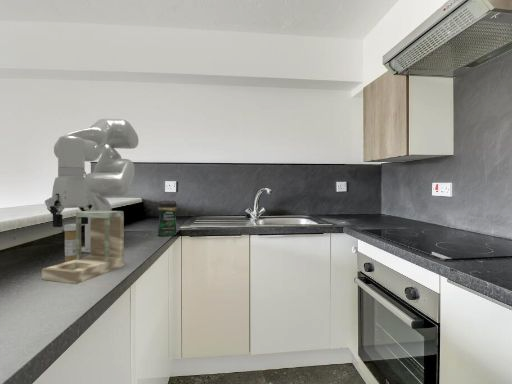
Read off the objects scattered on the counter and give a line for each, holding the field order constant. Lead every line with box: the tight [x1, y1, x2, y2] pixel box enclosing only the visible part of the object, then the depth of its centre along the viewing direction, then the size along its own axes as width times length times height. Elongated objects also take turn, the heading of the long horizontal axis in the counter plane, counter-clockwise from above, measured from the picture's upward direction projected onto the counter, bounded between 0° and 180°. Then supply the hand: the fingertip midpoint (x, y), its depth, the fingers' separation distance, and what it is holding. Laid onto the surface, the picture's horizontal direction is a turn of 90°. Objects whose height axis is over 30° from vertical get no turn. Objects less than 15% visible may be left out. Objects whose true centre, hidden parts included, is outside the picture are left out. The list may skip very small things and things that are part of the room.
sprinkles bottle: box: [63, 223, 76, 263], centre depth 97 cm, size 5×5×14 cm
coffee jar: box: [157, 200, 178, 237], centre depth 154 cm, size 10×8×19 cm
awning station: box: [41, 210, 125, 285], centre depth 88 cm, size 18×12×18 cm, turn 164°
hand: (71, 225), depth 96 cm, fingers open, 9 cm apart
